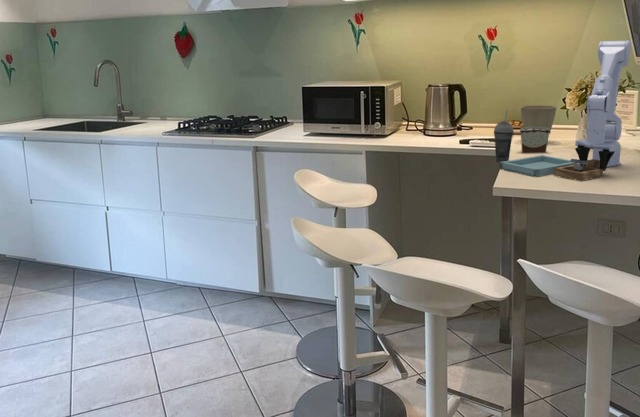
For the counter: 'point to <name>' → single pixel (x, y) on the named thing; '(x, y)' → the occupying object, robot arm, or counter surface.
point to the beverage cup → (503, 140)
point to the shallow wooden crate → (588, 172)
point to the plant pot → (538, 116)
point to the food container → (534, 139)
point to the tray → (535, 165)
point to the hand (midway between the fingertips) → (592, 169)
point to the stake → (579, 164)
